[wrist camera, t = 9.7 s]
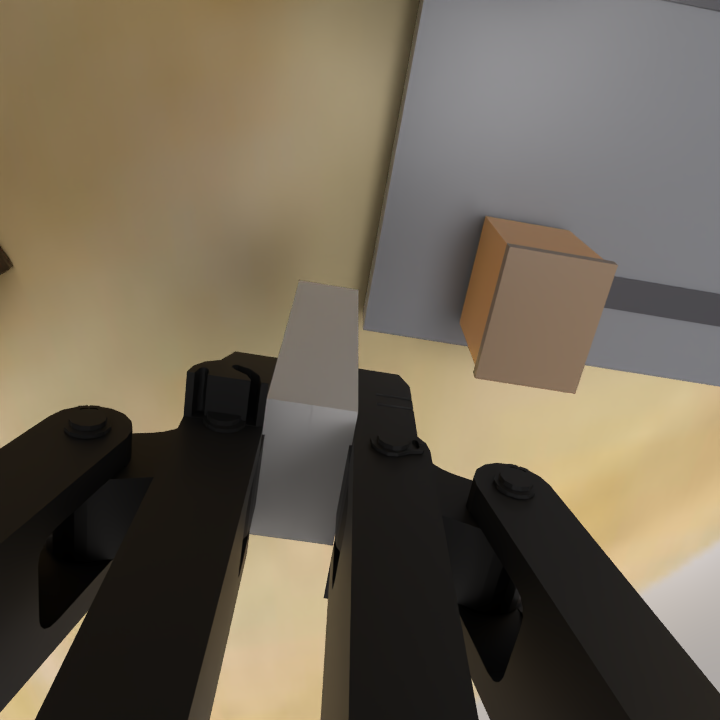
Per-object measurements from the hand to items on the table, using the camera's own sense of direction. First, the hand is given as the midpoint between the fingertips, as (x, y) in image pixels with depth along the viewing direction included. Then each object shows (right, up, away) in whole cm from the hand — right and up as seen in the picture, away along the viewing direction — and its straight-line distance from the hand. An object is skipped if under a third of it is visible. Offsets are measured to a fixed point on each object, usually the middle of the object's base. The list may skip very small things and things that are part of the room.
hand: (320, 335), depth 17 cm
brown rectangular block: (+7, +2, +7) cm, 10 cm away
